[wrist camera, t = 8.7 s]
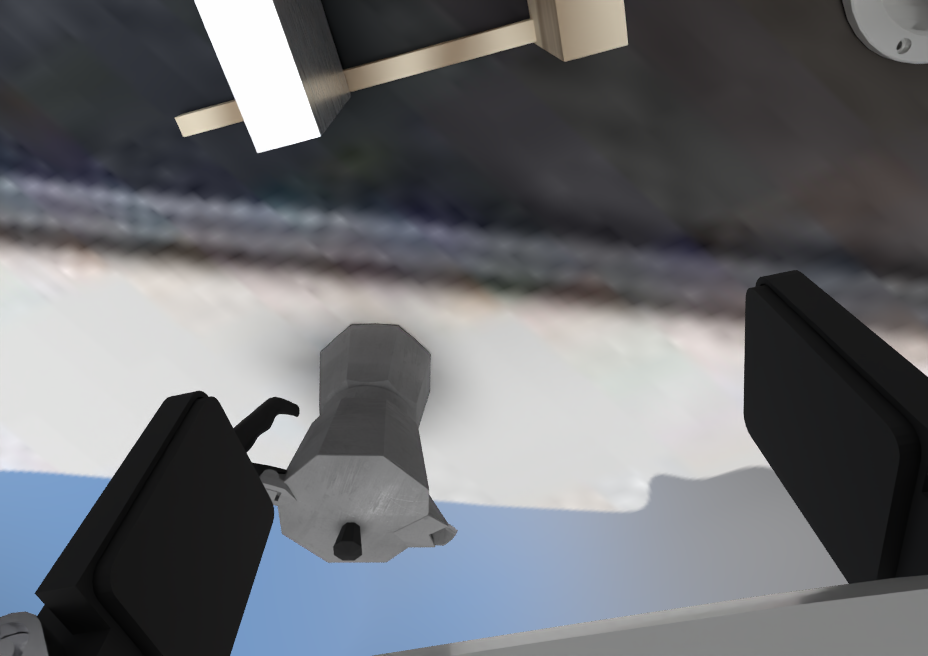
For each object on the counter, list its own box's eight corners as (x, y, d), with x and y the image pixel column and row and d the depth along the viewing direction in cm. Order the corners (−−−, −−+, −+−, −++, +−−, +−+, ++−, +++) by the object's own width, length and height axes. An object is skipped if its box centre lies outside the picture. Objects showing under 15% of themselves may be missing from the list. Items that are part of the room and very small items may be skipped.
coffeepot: (476, 352, 48) (494, 531, 32) (429, 437, 52) (425, 632, 36) (286, 281, 44) (203, 443, 28) (252, 378, 48) (163, 567, 33)
